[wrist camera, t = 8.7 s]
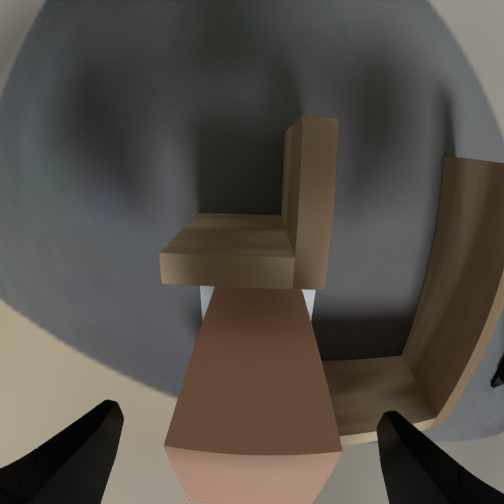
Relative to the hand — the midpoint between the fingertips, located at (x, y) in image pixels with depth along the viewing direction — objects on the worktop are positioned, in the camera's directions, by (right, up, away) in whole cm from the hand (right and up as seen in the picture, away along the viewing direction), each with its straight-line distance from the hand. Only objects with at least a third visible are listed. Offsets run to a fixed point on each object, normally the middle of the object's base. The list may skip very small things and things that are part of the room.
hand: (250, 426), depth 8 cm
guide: (+4, +4, +7) cm, 9 cm away
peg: (0, +2, +7) cm, 8 cm away
